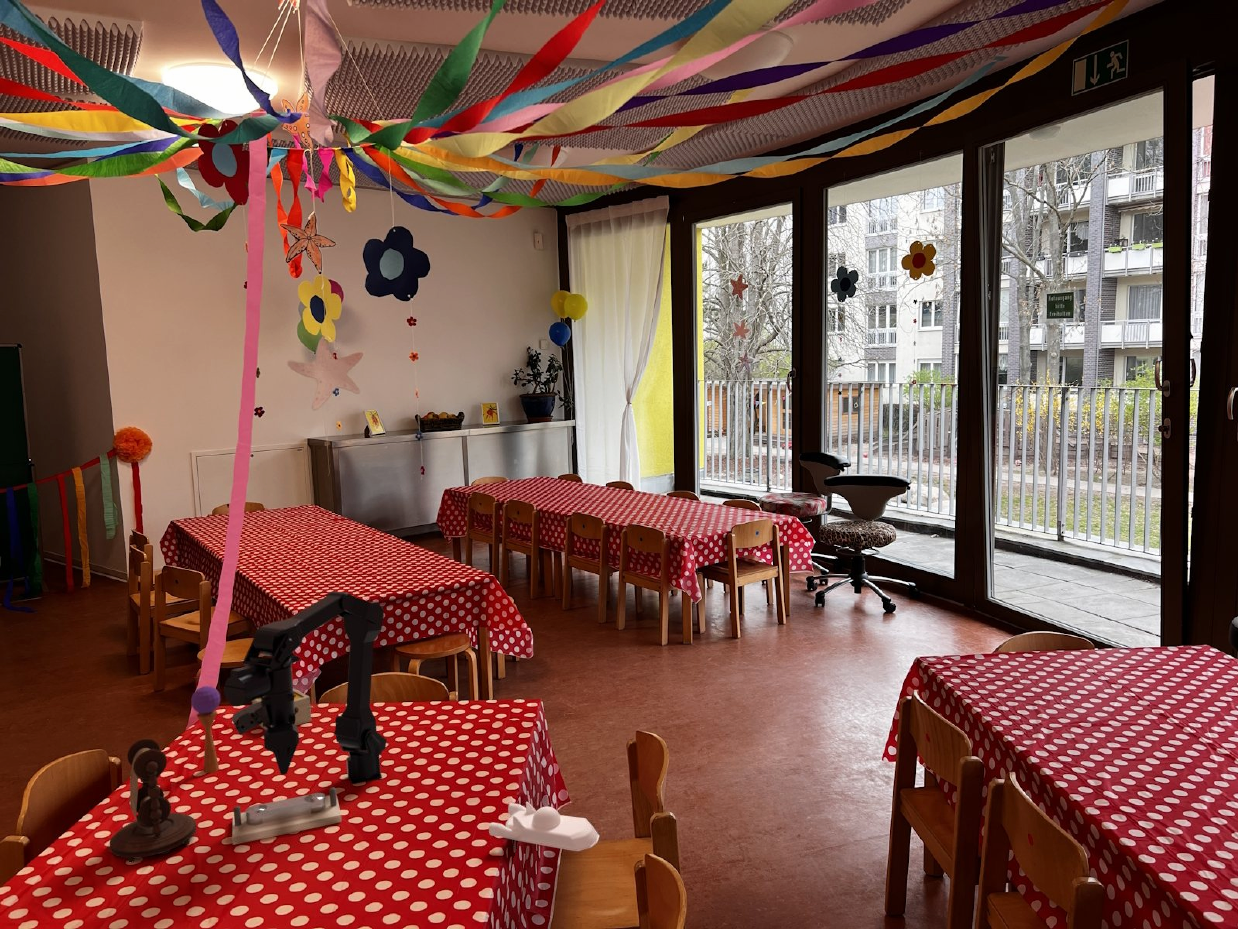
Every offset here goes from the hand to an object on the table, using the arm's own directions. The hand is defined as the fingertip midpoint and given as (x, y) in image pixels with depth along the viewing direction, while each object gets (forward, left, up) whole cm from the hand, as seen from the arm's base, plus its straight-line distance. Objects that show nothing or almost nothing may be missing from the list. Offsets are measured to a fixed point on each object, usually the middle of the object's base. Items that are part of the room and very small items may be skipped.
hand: (282, 765), depth 178 cm
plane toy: (-46, +29, -12) cm, 55 cm away
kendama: (+15, -33, -12) cm, 38 cm away
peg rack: (0, 0, -12) cm, 12 cm away
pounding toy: (-2, -61, -12) cm, 62 cm away
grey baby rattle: (0, 0, -10) cm, 10 cm away
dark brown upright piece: (+24, -2, -12) cm, 27 cm away
